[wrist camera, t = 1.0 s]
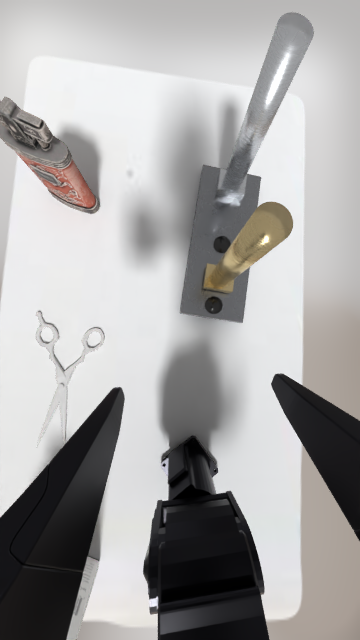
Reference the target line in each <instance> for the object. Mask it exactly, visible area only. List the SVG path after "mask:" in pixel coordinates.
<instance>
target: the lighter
mask: <svg viewBox="0 0 360 640" xmlns="http://www.w3.org/2000/svg"><path fill="white" fill-rule="evenodd" d="M0 138H1V139H2V140H3V141H4V142H5V143H6V144H7V145H8V146H9V147H10V148H12V149H13V150H14V151H15V152H16V153H17V154H18V155H19V157H20V158H21V159H22V160H23V161H24V162H25V163H26V164H27V166H28V167H29V168H30V169H31V170H32V171H33V172H34V173H35V175H36V176H37V177H38V178H39V179H40V180H41V181H42V182H43V184H44V185H45V186H46V187H47V188H48V191H49V192H50V193H51V194H52V196H53V197H54V198H56V199H57V200H59V201H60V202H62V203H63V204H65V205H67V206H69V207H71V208H73V209H76V210H79V211H81V212H85V213H89V214H94V213H96V212H97V211H98V210H99V208H100V204H99V201H98V200H97V198H96V197H95V196H94V195H93V194H92V192H91V190H90V188H89V187H88V185H87V183H86V182H85V180H84V178H83V177H82V175H81V173H80V171H79V170H78V168H77V166H76V165H75V163H74V161H73V160H72V156H71V153H70V151H69V150H68V148H67V146H66V145H65V144H64V143H63V142H62V141H60V140H59V139H57V138H56V137H55V136H53V135H52V133H51V132H50V130H49V128H48V127H47V125H46V123H45V122H44V121H43V120H42V119H40V118H38V117H36V116H34V115H32V114H30V113H28V112H25V111H23V110H21V109H20V108H19V107H18V106H17V105H16V104H15V103H14V102H13V101H12V100H11V99H9V98H7V97H4V99H3V100H2V101H0Z"/></svg>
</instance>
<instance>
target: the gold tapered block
mask: <svg viewBox="0 0 360 640" xmlns="http://www.w3.org/2000/svg"><path fill="white" fill-rule="evenodd" d="M292 228H293V219H292V216H291V214H290V212H289V211H288V209H287V208H286V207H284V206H283V205H281V204H279V203H276V202H266V203H263V204H261V205H260V206H259V207H258V208H257V209H256V210H255V212H254V213H253V214H252V216H251V217H250V219H249V220H248V221H247V223H246V224H245V226H244V227H243V228H242V230H241V231H240V233H239V234H238V236H237V237H236V238H235V240H234V241H233V243H232V244H231V245H230V247H229V248H228V250H227V251H226V252H225V254H224V255H223V257H222V258H221V260H220V261H219V262H218V264H217V265H213V264H208V263H207V265H206V268H205V275H204V282H203V288H202V289H208V290H214V291H220V292H225V293H231V292H233V285H234V279H235V278H236V277H237V276H239V275H240V274H241V273H243V272H244V271H245V270H246V269H248V268H249V267H250V266H251V265H253V264H254V263H255V262H257V261H258V260H259V259H260V258H262V257H263V256H264V255H265V254H267V253H268V252H269V251H271V250H272V249H273V248H274V247H276V246H277V245H278V244H279V243H281V242H282V241H283V240H284V239H286V238H287V237H288V236H289V235H290V233H291V231H292Z"/></svg>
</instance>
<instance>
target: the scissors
mask: <svg viewBox="0 0 360 640" xmlns="http://www.w3.org/2000/svg"><path fill="white" fill-rule="evenodd" d="M36 316H37V317H38V319H39V322H40V324H41V326H39V327H38V329H37V332H36V340H37V342H38V343H39V344H40V345H41V346H42V347H45V348H46V349H47V350H48V352H49V353H50V355H49V359H50V360H51V361H53V363H54V364H55V366H56V381H57V389H56V391H55V394H54V397H53V399H52V402H51V404H50V407H49V410H48V413H47V416H46V419H45V422H44V425H43V428H42V431H41V433H40V436H39V440H38V444H39V442H40V440H41V438H42V436H43V434H44V432H45V430H46V428H47V426H48V424H49V422H50V420H51V418H52V416H53V414H54V412H55V410H56V408H57V407H58V405H60V416H61V425H62V434H63V442H64V445H65V433H66V418H67V386H68V384H69V381H70V379H71V376H72V374H73V372H74V370H75V368H76V366H77V365H78V364H79V363H81V362H83V361H84V358H85V355H86V354H87V353H90V352H92V351H95V350H97V349H98V348H99V347H101V346H102V344H103V342H104V333H103V332H102V330H101V329H99V328H93V329H91V330H88V332H87V333H86V334H85V335H84V337H83V339H82V343H83V346H84V351H83V353H82V356H81V358H80V359H79V360H78V361H77V362H76V363H74V364H73V365H72V366H70V367H69V368H68V369H67V370H65V371H64V370H63V369H62V367H61V366H60V364H59V363H58V361H57V360H56V358H55V356H54V344H55V343H56V342H57V341H58V339H59V333H58V331H57V329H56V328H55V327H54V326H53V325H51V324H46V323H45V322H44V320H43V318H42V313H41V312H37V313H36ZM46 327H49V328H51V329H52V331H53V340H52V341H51V342H50V343H49V344H48V343H44V342H43V341H42V339H41V332H42V330H43V329H44V328H46ZM93 331H96V332H99V333H100V334H101V342H100V344H99V345H98V346H96V347H95V348H90V347H89V346H88V344H87V340H88V337H89V335H90V334H91V333H92V332H93ZM38 444H37V446H38ZM36 448H37V447H36Z"/></svg>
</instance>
